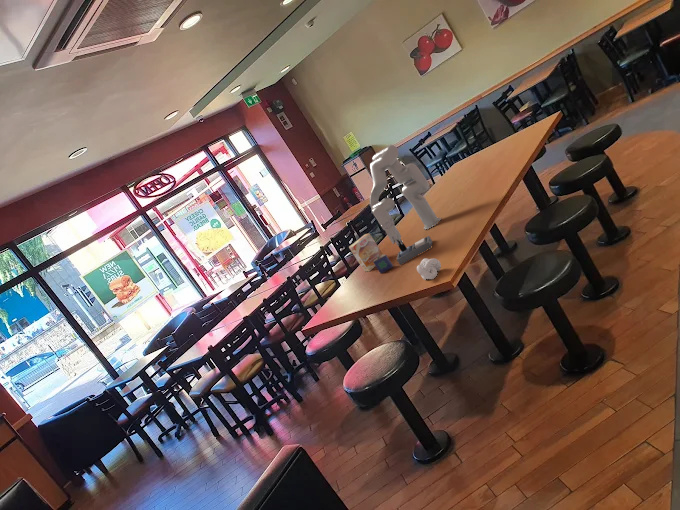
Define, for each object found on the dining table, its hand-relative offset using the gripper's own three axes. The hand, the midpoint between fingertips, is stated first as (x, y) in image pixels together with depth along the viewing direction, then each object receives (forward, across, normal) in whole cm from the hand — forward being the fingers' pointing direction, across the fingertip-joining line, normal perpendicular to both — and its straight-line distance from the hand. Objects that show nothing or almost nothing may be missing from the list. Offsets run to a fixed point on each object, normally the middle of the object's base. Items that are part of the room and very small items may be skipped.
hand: (404, 250), depth 301 cm
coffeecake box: (+5, -22, -27) cm, 35 cm away
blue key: (+3, 0, 0) cm, 3 cm away
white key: (+3, 0, +10) cm, 11 cm away
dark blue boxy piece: (+5, +2, -15) cm, 16 cm away
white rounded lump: (+6, +50, +17) cm, 53 cm away
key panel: (+5, 0, +5) cm, 7 cm away
